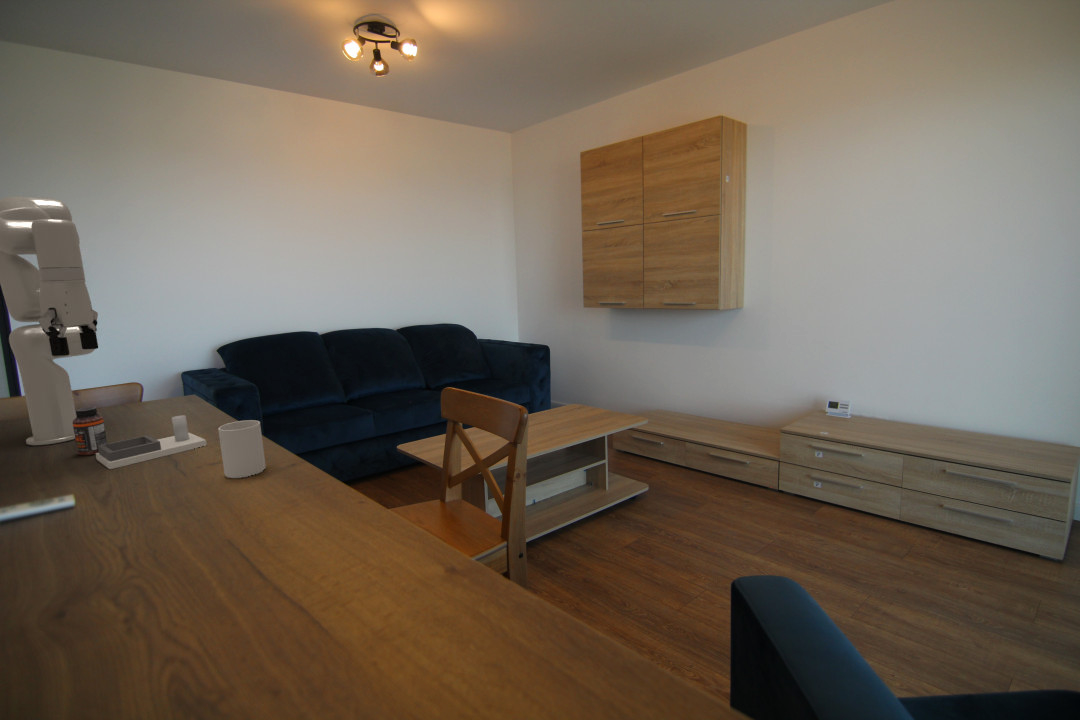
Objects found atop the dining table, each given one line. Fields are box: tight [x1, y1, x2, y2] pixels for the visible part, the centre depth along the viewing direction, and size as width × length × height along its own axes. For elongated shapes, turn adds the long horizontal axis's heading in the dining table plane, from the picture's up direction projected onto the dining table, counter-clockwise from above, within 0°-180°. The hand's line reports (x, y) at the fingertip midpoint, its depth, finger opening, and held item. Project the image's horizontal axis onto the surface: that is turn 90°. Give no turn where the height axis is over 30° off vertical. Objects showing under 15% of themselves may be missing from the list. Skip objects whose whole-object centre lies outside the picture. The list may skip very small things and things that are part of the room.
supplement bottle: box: [73, 406, 108, 456], centre depth 136 cm, size 6×6×11 cm
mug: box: [217, 419, 266, 479], centre depth 119 cm, size 12×8×10 cm, turn 48°
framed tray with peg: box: [95, 414, 207, 470], centre depth 135 cm, size 12×20×8 cm, turn 140°
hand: (76, 352), depth 125 cm, fingers open, 9 cm apart
